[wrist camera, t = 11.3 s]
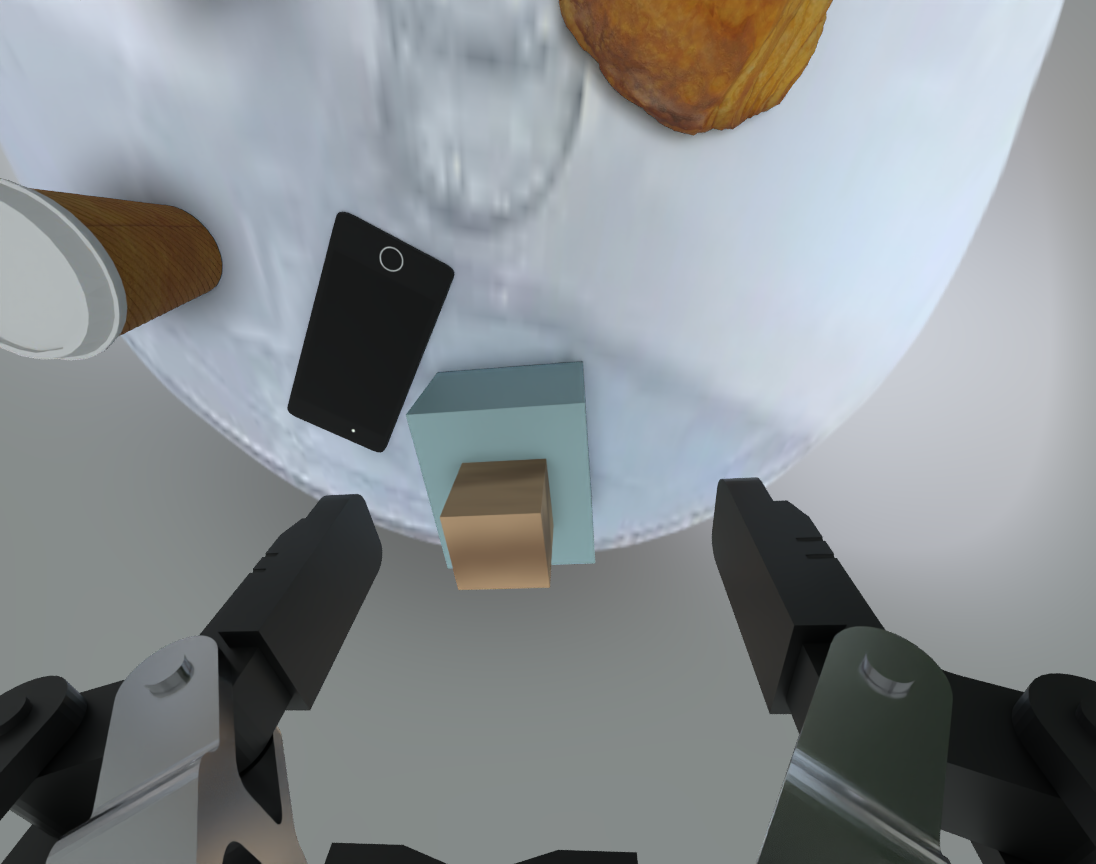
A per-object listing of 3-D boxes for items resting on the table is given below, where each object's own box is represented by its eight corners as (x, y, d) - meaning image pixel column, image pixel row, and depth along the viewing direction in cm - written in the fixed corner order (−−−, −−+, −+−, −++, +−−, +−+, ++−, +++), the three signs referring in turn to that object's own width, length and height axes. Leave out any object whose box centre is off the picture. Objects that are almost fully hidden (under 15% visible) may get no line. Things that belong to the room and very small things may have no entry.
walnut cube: (461, 462, 32) (439, 517, 26) (546, 458, 31) (540, 513, 26) (476, 528, 35) (458, 589, 29) (553, 525, 34) (549, 587, 29)
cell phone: (457, 269, 34) (454, 271, 33) (385, 450, 42) (382, 455, 41) (343, 208, 32) (337, 208, 31) (291, 408, 40) (285, 412, 39)
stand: (437, 372, 37) (405, 414, 30) (582, 361, 36) (584, 402, 29) (468, 507, 44) (447, 568, 37) (591, 501, 43) (595, 563, 36)
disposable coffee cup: (158, 322, 36) (-12, 376, 26) (85, 190, 32) (-156, 190, 21) (265, 307, 35) (134, 356, 25) (205, 168, 31) (15, 157, 20)
